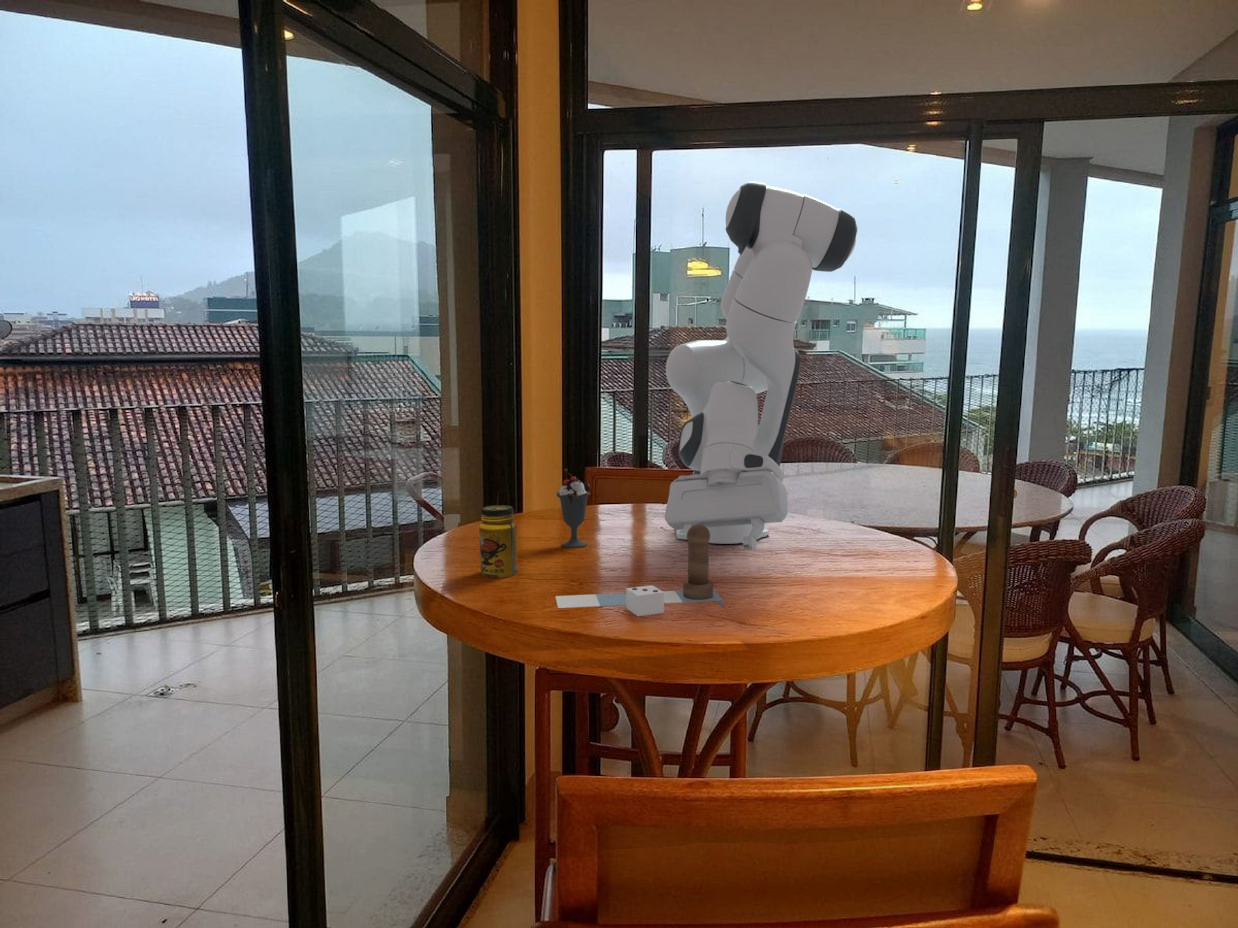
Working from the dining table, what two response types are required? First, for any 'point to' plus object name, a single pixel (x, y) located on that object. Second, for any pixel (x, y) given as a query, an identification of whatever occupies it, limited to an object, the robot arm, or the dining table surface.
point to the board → (622, 599)
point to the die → (645, 600)
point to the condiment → (498, 542)
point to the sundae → (573, 507)
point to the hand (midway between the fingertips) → (721, 550)
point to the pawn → (698, 564)
